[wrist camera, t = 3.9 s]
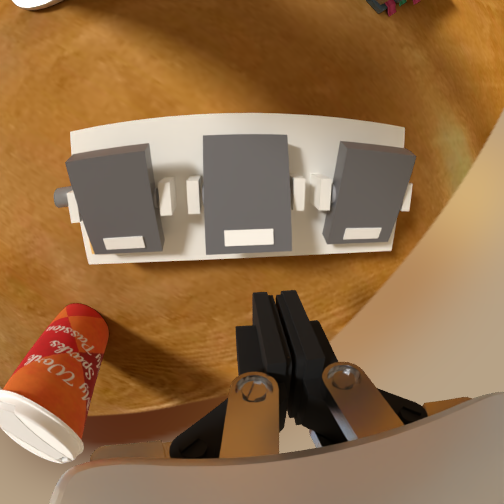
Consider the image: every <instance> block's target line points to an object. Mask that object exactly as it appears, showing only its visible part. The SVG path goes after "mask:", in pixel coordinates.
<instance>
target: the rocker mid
mask: <svg viewBox="0 0 504 504" xmlns="http://www.w3.org/2000/svg"><path fill="white" fill-rule="evenodd" d="M202 199H203V205H204V220H205V245H206V255H217V254H240V253H263V252H285V251H292V226H291V189H290V175H289V156H288V138H287V135H281V134H229V135H203V186H202Z"/></svg>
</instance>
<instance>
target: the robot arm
mask: <svg viewBox="0 0 504 504" xmlns="http://www.w3.org/2000/svg"><path fill="white" fill-rule="evenodd" d="M12 1H13V2H14V3H15V5H17V6H19V7H21V8H23V9H26V10H38V9H43V8H47V7H49V6H52V5H55V4H57V3H59V2H61V1H63V0H12ZM236 346H237V361H238V373H239V376H238V377H236V378H235V379H234V380H233V381H232V383H231V386H230V390H229V397H228V398H227V399H226V400H225V401H224V402H222V403H221V404H220V405H219V406H217V407H216V408H215V409H213V410H212V411H211V412H210V413H208V414H207V415H206V416H205V417H203V418H202V419H200V420H199V421H198V422H196V423H195V424H194V425H192V426H191V427H190V428H188V429H187V430H186V431H185V432H183V433H181V434H180V435H179V436H177V437H176V438H175V439H174V440H173V441H172V442H166V443H162V441H161V440H160V441H152V442H143V443H133V444H122V445H106V446H102V447H99V448H98V449H96V450H94V452H93V453H92V455H91V457H90V462H86V463H83V464H80V465H76V466H74V467H72V468H70V469H69V470H67V471H66V472H65V473H64V474H63V475H62V476H61V478H60V479H59V481H58V483H57V484H56V487H55V489H54V491H53V494H52V496H51V499H50V502H49V504H504V392H496V393H491V394H486V395H482V396H479V397H476V398H473V399H472V398H468V397H461V398H455V399H449V400H444V401H436V402H429V403H424V405H423V406H421V405H419V404H417V403H415V402H413V401H410V400H407V399H404V398H402V397H399V396H396V395H393V394H391V393H388V392H385V391H383V390H380V389H378V388H376V387H375V385H374V384H373V383H372V382H371V380H370V379H369V378H368V376H367V375H366V374H365V372H364V371H363V370H362V369H361V368H360V367H358V366H357V365H355V364H352V363H349V362H338V360H337V358H336V356H335V354H334V352H333V350H332V348H331V345H330V343H329V341H328V339H327V337H326V335H325V333H324V331H323V329H322V327H321V325H320V323H319V321H317V320H315V321H309V319H308V317H307V314H306V312H305V310H304V308H303V305H302V303H301V301H300V299H299V296H298V294H297V292H296V290H290V291H281V295H276V305H275V301H274V298H273V295H268V294H267V292H257V293H253V325H252V326H236ZM286 411H288V415H289V417H290V418H294V419H295V423H296V425H300V424H302V425H303V426H304V427H307V428H308V429H309V433H310V436H311V438H312V440H313V442H314V444H315V446H316V448H314V449H308V450H302V451H295V452H289V453H281V454H279V432H280V431H281V430H282V429H283V428H284V423H285V418H286Z"/></svg>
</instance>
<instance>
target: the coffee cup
mask: <svg viewBox="0 0 504 504" xmlns="http://www.w3.org/2000/svg"><path fill="white" fill-rule="evenodd" d="M108 338H109V329H108V326H107V324H106V322H105V320H104V319H103V317H102V316H101V315H100V314H99V313H98V312H97V311H95V310H94V309H92V308H91V307H89V306H87V305H84V304H79V303H73V304H70V305H67V306H66V307H65V308H64V309H63V310H62V311H61V312H60V313H59V314H58V315H57V317H56V318H55V319H54V320H53V321H52V322H51V324H50V325H49V326H48V327H47V329H46V330H45V331H44V332H43V334H42V335H41V336H40V338H39V339H38V340H37V341H36V343H35V344H34V345H33V347H32V348H31V349H30V351H29V352H28V353H27V355H26V356H25V358H24V359H23V360H22V362H21V363H20V365H19V366H18V367H17V369H16V370H15V372H14V373H13V375H12V376H11V377H10V379H9V380H8V382H7V383H6V385H5V386H4V388H3V389H2V390H0V427H1V428H2V430H3V431H4V432H6V434H7V435H8V436H10V437H11V438H12V439H13V440H14V441H15V442H17V443H18V444H20V445H21V446H22V447H24V448H25V449H27V450H29V451H30V452H32V453H34V454H36V455H38V456H40V457H42V458H44V459H47V460H49V461H53V462H56V463H61V464H63V463H67V462H70V461H72V460H74V459H75V458H76V456H77V455H79V454H80V453H82V451H83V449H84V446H83V443H82V441H81V439H82V434H83V430H84V426H85V422H86V418H87V414H88V410H89V406H90V402H91V398H92V394H93V390H94V386H95V383H96V379H97V376H98V372H99V369H100V365H101V362H102V359H103V355H104V352H105V349H106V345H107V342H108ZM71 459H72V460H71Z"/></svg>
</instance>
